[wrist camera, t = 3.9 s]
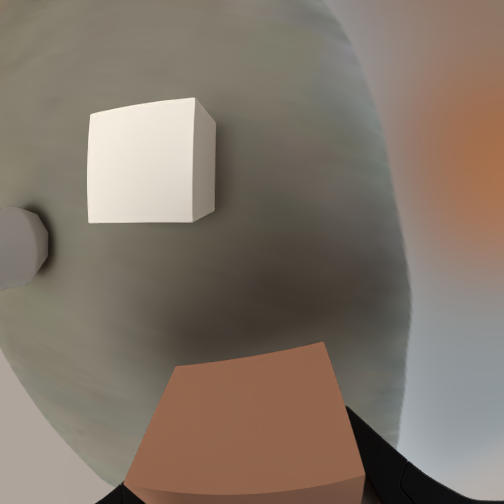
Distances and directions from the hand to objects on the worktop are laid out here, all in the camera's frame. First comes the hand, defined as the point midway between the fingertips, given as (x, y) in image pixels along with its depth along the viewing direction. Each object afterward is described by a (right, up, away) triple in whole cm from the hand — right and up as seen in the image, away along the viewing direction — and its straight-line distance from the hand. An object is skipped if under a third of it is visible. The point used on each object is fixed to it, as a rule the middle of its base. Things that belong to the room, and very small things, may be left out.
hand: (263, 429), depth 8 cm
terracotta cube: (0, 0, +1) cm, 1 cm away
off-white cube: (-5, +11, +7) cm, 14 cm away
